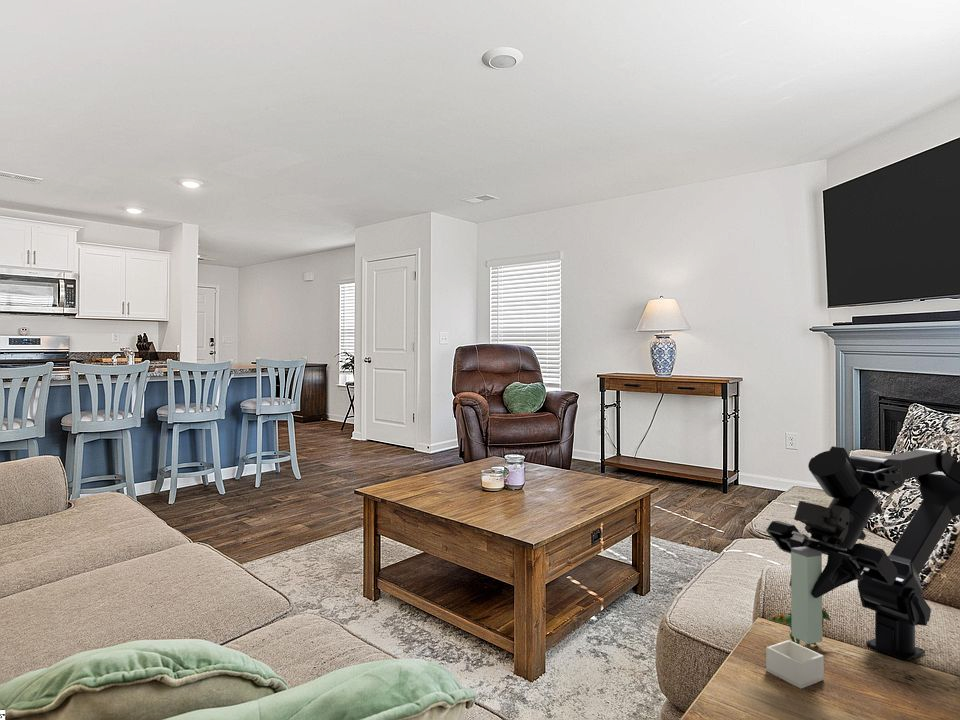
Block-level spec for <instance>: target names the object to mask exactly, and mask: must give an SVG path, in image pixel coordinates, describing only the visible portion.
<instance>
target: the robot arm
mask: <svg viewBox="0 0 960 720" xmlns="http://www.w3.org/2000/svg"><path fill="white" fill-rule="evenodd" d="M807 465H808V466H807V467H808V470H809V471H810V473H811V475H812V476H813V478H814V479H815V480H816V481H817V484H819V486H820V487H821V489H822V491H823V492H824V493H825V494H826V495H827V496H828V497H829V498H832V500H831V501H830V503H829V505H828V507H827V506H823V505H819V504H815V503H810V502H807V501H803V500H802V501H801V500H799V501H798V503H797V507H796V511H795V514H794V517H793V519H794V520H795V521H797V522H800V523H802V524H805V526H804V530H805V532H806V533H808V534H810V537H809V536H808V535H806V534H804V533H803V532H800V531H799V530H798V528H797V527H796V525H794V524H791V523H789V522H784V521H780V520H773V521H771V522H770V523H769V525H768V526H767V528H766V533H767V534H768V536H770V538H771V539H772V540H773V542H774V543H775V544H776V546H777V547H778V549H779V550H781V551H783V552H785V553H788V554H791V548H795V547H804V546H806V547H809V548H812V549H815V550H818V551H821V552H822V555H825V556H827V558H826V559H827V560H826V561H827V562H826V565H825V566H824V568H823V569H822V573H821V575H820V577H819V578H818V580H817V582H816V584H815V585H814V588H813V590H812V593H811V594H812V596H813V597H814V598H818V597H820V596H822V597H823V595H825V594H827V593H830V592H831V591H833V590H835V589H837V588H839V587H842V586H843V585H846V584H848V583H850V582H853V581H857V589H858V593H859V598H860V601H861V606H862V607H863V608H865V609H869V610H872V611H874V613H875V614H874V619H875V620H874V622H875V623H874V635H875V636H874V638H872V639H870V640H867V641H866V642H865V645H866V646H869V647H871V648H873V649H876V650H878V651H879V652H883V653H885V654H888V655H890V656H892V657H895V658H898V659H900V660H902V661H905V662H907V661H910V660H913V659H915V658H917V657H920V656H922V655H924V654H926V650H925V649H924V648H921V647H918V646H916V627H917V626H925V627H926V626H928V622H930V618H931V613H932V608H931V607H930V605H929V604H928V603H927V601H926V600H925V598H924V597H923V586H922V582H921V580H920V574H921V572H922V570H923V569H924V568H925V566H926V564H927V562H928V561H929V559H930V557H931V555H932V554H933V552H934V551H935V549H936V546H937V544H938V543H939V541H940V540H941V538H942V537H943V534H944V533H945V531H946V529H947V528H948V526H949V524H950V522H951V521H952V519H953V518H955V517H958V516H960V462H959V461H957V460H956V459H955V458H954V457H953V455H952V454H951V453H950V452H949V451H946V450H944V449H935V448H926V447H919V448H915V449H914V450H910V451H906V452H900V453H895V454H891V455H887V456H876V455H868V454H852V455H850V456H849V454H848V452H847V450H846V449H845V447H842V446H835V445H834V446H832V445H831V447H830V448H829V450H826V451H823V452H822V451H821V452H819V453H818V454H816V455H815V456H813V457H811V458H810V459H809V462H808V464H807ZM913 478H914V479H915V481H916V483H917V484H918V485H919V487H918V488H919V491H920V495H921V498H922V499H921V500H922V501H921V503H920V505H919V507H918V508H917V509H916V511H915V513H914V514H913V516H912V517H911V519H910V521H909V522H908V524H907V526H906V527H905V529H904V531H903V532H902V533H901V536H900V537H899V538H898V540H897V541H896V544H895V545H894V547H893V548H892V550H891V551H890V553H889V554H887V553H886V552H885V550H884V549H883V548H880V547H876V546H872V545H869V544H865V543H861V542H858V543H857V541H858V540H860V541H861V540H862V541H864V540H865V539H866V537H867V534H866V533H865V532H864V530H865V527H866V526H867V523H868V522H869V519H870V518H871V517H872V515H873V514H877V515H882V514H883V507H882V506H881V504H880V502H879V497H878V496H877V497H876V495H875V494H874V492H873V491H876V492H882V493H888V494H889V493H890V494H891V493H892V492H894V491H896V490H898V489H901V487H903V485H904V483H903V481H905V480H908V479H913ZM789 586H790V588H791V579H790V583H789ZM915 646H916V647H915Z"/></svg>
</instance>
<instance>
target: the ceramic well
mask: <svg viewBox="0 0 960 720" xmlns="http://www.w3.org/2000/svg"><path fill="white" fill-rule="evenodd" d="M801 645H802V644H800V645H799V644H797V643H795V642H792V640H791V639H787V640H784V641H781V642H779V643H775V644H772V645H770V646H769V645H768V646H766V651H765V653H766V656H765V657H766V658H765V661H766V662H765V664H766V666H765V668H766V672H768V673H770V674H772V675H773V676H775V677H777V678H780V679H781V680H783V681H784V682H787V683H789V684H791V685H792V686H794V687H797V688H799V689H804V688H806V687H810V686H812V685H814V684H817V683H820V682H822V681H824V678H825V676H824V674H825V671H824V666H825V664H824V663H825V662H824V659H825V658H824V657H825V656H824V655H823V654H821V653H819V652H816V651H814V650H812V649H810V648H808V647H806V646H804V645H802V646H801ZM803 646H804V647H803Z"/></svg>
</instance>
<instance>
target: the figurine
mask: <svg viewBox="0 0 960 720" xmlns="http://www.w3.org/2000/svg"><path fill="white" fill-rule="evenodd" d="M784 615H787V616H784ZM829 615H830V614H829V613H828V612H827V609H826V607H822V632H823V633H824V632H825V633H828V632H829V630H826V629H825V628H824V626H825V625H824V622H825V620H827V621H828V622H831V618H830V616H829ZM778 616H779V617H778ZM778 616H777V615H772V618H771V617H770V618H767V620H768V621H769V622H773V623H780V624H783V625H788V626H789V628H790V633H789V638H790V640H791V641H792V642H795V641H796V642H795V643H798V644H799V645H801V644H800V642H801V640H799V639H797V638H795V637H793V636H792V618H791V612H785V614H784V613H780V614H778ZM813 645H814V646H815V645H816V646H815V647H817V645H818V644H817V643H813Z"/></svg>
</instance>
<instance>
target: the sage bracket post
mask: <svg viewBox="0 0 960 720" xmlns="http://www.w3.org/2000/svg"><path fill="white" fill-rule="evenodd" d="M822 556H823V554H822V552H821V551H818V550H815V549H812V548H809V547H806V546H804V547H795V548H791V553H790V561H791V562H790V569H791V570H790V580H791V587H790V588H791V589H790V591H791V592H790V595H791V596H790V598H791V605H790V607H791V610H790V611H791V612H790V613H791V618H792V636H793V637H794V638H795V639H796V638H797V639H799V640H800V642H803V643H805V644H807V645H810V644H814V643H816V644H817V643H822V642H823V631H822V609H823V595H822V596H820V597H818V598H814V597H813V596H812V594H811V593H812V590H813V588H814V585H815V584H816V582H817V580H818V578H819V577H820V575H821V573H822V572H823V563H822V562H823V558H822Z"/></svg>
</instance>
